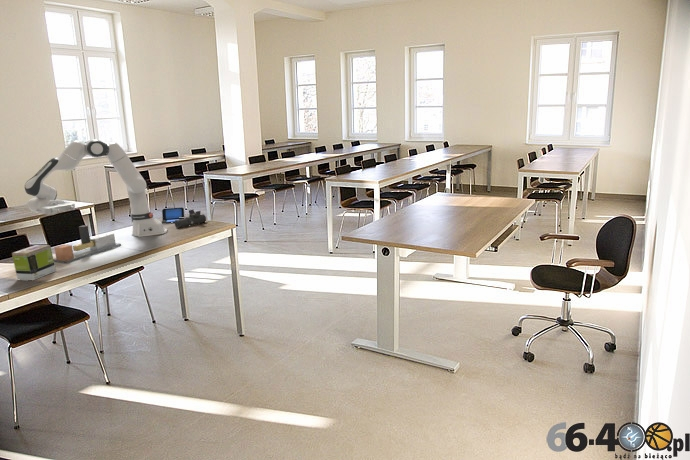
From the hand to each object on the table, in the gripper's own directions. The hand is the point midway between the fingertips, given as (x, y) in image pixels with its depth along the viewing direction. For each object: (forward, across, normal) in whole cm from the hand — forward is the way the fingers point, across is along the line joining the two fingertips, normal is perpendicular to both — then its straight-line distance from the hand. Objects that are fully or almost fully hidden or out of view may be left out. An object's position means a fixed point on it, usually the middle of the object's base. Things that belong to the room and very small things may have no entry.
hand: (67, 209), depth 308 cm
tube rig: (+13, +1, +25) cm, 28 cm away
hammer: (+13, +5, +21) cm, 26 cm away
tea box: (+23, -39, +26) cm, 52 cm away
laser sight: (+28, +76, +21) cm, 84 cm away
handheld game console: (+6, +84, +22) cm, 87 cm away
